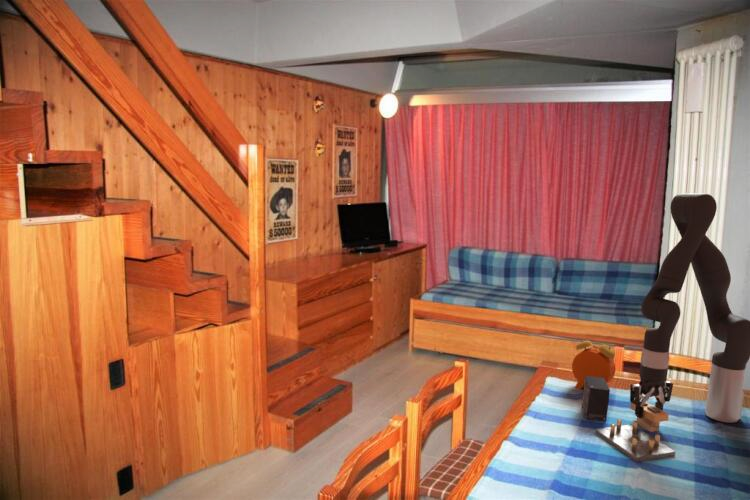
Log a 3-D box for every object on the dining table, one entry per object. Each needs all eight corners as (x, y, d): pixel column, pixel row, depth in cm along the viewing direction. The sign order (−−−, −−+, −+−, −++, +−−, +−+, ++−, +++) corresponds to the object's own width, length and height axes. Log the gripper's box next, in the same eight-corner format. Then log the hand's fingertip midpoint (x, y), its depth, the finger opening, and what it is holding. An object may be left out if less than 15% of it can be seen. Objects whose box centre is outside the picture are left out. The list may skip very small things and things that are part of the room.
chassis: (631, 427, 180) (632, 414, 179) (674, 455, 164) (676, 441, 163) (595, 432, 176) (596, 419, 175) (636, 461, 160) (637, 447, 159)
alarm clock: (613, 392, 207) (619, 337, 203) (607, 397, 202) (612, 340, 199) (576, 381, 215) (581, 328, 212) (569, 386, 211) (574, 332, 207)
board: (643, 406, 186) (644, 398, 185) (667, 420, 176) (668, 412, 176) (630, 408, 184) (631, 400, 184) (654, 422, 175) (655, 414, 174)
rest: (644, 421, 184) (645, 409, 183) (658, 430, 178) (660, 418, 178) (636, 422, 183) (637, 410, 183) (650, 431, 178) (652, 419, 177)
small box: (607, 422, 183) (611, 389, 182) (585, 419, 185) (588, 387, 183) (602, 407, 194) (605, 377, 192) (581, 405, 195) (584, 375, 193)
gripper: (664, 357, 183) (658, 408, 186) (625, 360, 179) (620, 413, 182) (683, 366, 176) (676, 418, 179) (643, 369, 172) (637, 424, 175)
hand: (648, 415), depth 180 cm, fingers open, 6 cm apart
